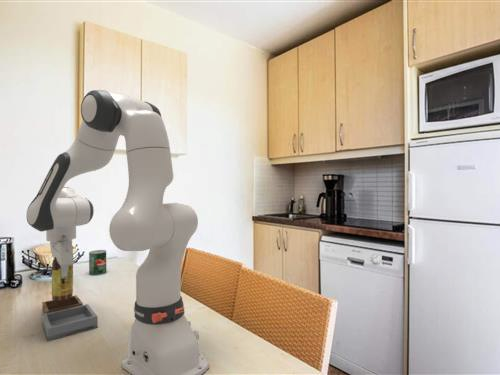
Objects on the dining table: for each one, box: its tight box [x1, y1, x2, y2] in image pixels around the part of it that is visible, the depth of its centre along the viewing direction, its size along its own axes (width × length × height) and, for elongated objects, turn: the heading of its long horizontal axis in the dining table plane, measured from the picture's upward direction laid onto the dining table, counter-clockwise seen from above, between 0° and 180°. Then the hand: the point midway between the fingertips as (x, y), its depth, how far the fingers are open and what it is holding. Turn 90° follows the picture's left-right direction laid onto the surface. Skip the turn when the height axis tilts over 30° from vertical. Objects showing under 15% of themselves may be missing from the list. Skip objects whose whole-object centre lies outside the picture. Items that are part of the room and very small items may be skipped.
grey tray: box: [41, 303, 99, 342], centre depth 97 cm, size 13×13×4 cm
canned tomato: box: [88, 249, 107, 277], centre depth 156 cm, size 8×8×11 cm
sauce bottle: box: [51, 251, 74, 301], centre depth 107 cm, size 7×6×20 cm
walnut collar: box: [41, 295, 84, 314], centre depth 107 cm, size 11×11×4 cm
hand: (62, 274), depth 107 cm, fingers closed on sauce bottle, 6 cm apart
